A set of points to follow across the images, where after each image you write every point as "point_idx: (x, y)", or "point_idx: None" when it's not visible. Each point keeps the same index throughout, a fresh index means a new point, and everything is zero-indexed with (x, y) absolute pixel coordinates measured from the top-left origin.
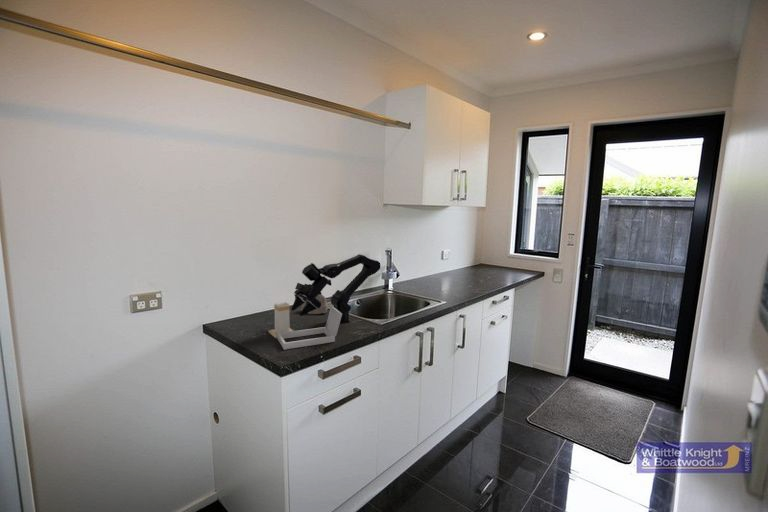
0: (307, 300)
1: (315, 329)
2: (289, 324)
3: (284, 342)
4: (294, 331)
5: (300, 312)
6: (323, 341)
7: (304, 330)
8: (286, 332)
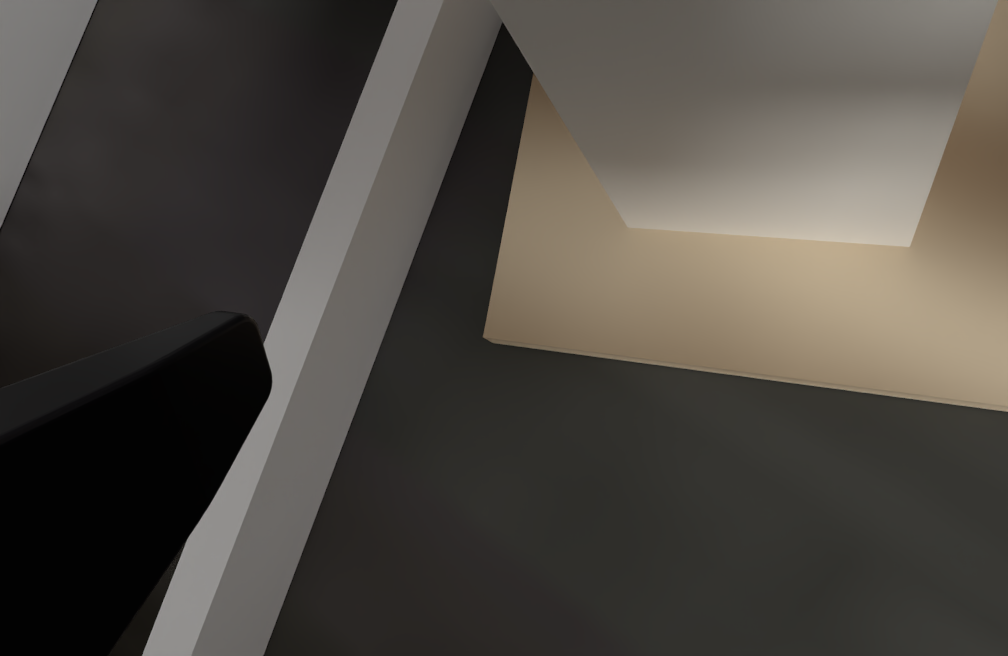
0: None
1: (157, 645)
2: (584, 153)
3: None
4: (341, 177)
5: (175, 352)
6: None
7: None
8: (409, 16)
